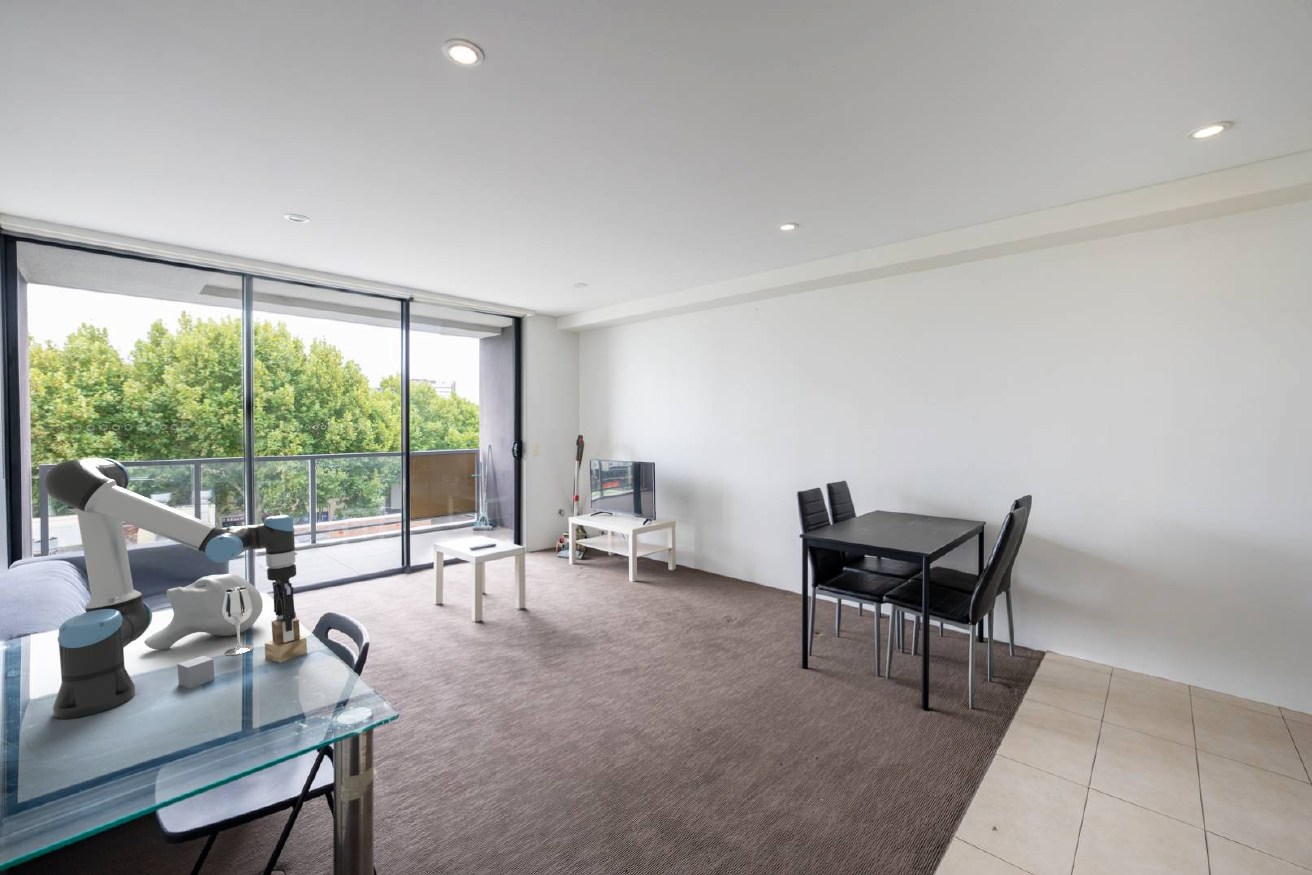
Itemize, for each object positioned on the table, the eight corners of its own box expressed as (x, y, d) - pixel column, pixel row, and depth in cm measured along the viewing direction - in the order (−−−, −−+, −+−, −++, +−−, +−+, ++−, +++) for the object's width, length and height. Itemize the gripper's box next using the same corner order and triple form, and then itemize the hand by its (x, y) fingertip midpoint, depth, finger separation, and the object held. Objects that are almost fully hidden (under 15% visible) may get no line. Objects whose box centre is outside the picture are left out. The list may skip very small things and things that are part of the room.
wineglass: (241, 655, 175) (238, 592, 174) (217, 656, 175) (214, 593, 174) (260, 645, 182) (256, 585, 182) (236, 646, 183) (233, 586, 182)
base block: (280, 663, 168) (279, 646, 168) (265, 658, 172) (264, 643, 172) (307, 652, 175) (306, 637, 175) (291, 649, 179) (291, 633, 179)
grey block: (189, 688, 153) (187, 667, 153) (178, 684, 156) (177, 663, 155) (214, 679, 158) (213, 658, 158) (204, 675, 161) (202, 655, 161)
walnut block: (277, 644, 169) (276, 625, 169) (272, 639, 173) (271, 621, 173) (300, 638, 174) (298, 619, 173) (294, 633, 178) (293, 615, 178)
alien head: (117, 607, 181) (225, 551, 203) (161, 665, 189) (261, 604, 211) (127, 620, 168) (241, 558, 190) (174, 681, 176) (278, 615, 198)
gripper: (304, 567, 169) (308, 641, 170) (287, 558, 182) (291, 627, 183) (275, 572, 164) (279, 649, 164) (259, 563, 177) (263, 634, 177)
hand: (285, 638), depth 173 cm, fingers closed on walnut block, 6 cm apart
